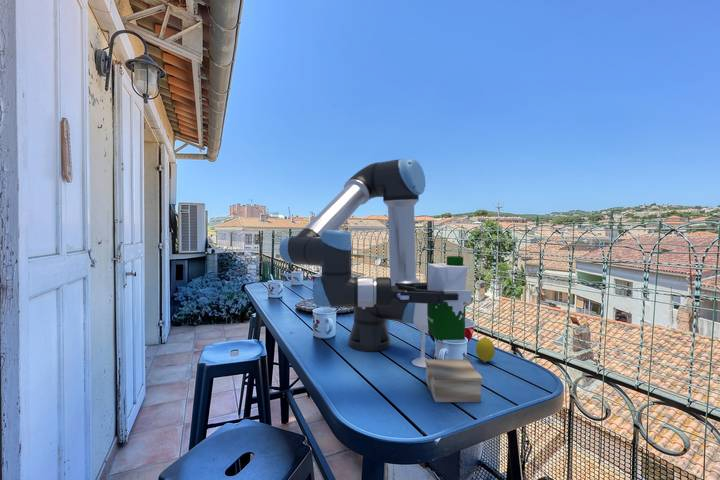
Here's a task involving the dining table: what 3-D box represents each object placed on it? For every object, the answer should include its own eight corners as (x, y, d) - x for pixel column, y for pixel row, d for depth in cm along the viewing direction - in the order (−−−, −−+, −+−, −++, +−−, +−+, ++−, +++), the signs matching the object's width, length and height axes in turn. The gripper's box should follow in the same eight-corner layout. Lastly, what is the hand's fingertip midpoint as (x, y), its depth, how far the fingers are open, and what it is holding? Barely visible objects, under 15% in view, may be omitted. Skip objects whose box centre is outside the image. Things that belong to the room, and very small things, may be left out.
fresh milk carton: (470, 341, 79) (471, 258, 78) (433, 341, 79) (434, 258, 78) (456, 329, 88) (457, 255, 87) (423, 330, 87) (424, 255, 87)
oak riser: (424, 380, 91) (424, 359, 90) (466, 381, 91) (466, 359, 91) (434, 402, 79) (434, 377, 79) (482, 402, 79) (482, 378, 79)
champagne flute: (417, 368, 99) (419, 288, 98) (408, 359, 105) (410, 285, 105) (437, 366, 101) (440, 288, 100) (427, 358, 107) (429, 284, 107)
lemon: (496, 366, 101) (496, 340, 101) (477, 365, 102) (477, 339, 102) (492, 359, 106) (493, 335, 106) (474, 358, 107) (474, 334, 107)
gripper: (373, 298, 94) (453, 298, 94) (376, 318, 72) (479, 318, 72) (373, 271, 93) (453, 272, 93) (376, 284, 72) (480, 284, 72)
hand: (464, 292), depth 83 cm, fingers closed on fresh milk carton, 9 cm apart
